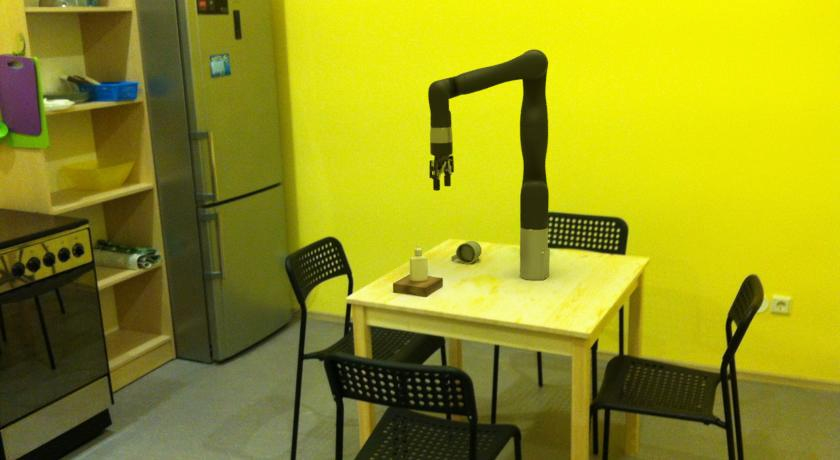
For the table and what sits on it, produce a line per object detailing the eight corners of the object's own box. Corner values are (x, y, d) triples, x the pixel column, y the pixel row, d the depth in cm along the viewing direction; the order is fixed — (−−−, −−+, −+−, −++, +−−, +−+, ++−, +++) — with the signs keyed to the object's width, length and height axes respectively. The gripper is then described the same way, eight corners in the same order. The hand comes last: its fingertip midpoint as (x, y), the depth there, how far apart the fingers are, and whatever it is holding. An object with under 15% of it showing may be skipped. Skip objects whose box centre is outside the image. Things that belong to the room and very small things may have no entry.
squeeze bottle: (425, 283, 260) (424, 246, 257) (408, 281, 262) (407, 245, 259) (429, 279, 264) (428, 243, 261) (412, 278, 266) (411, 242, 263)
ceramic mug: (483, 259, 298) (482, 239, 296) (475, 265, 291) (475, 244, 289) (456, 257, 302) (455, 237, 301) (448, 263, 295) (447, 242, 293)
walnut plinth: (442, 286, 266) (442, 277, 265) (426, 297, 256) (426, 287, 255) (410, 282, 271) (410, 273, 271) (393, 292, 261) (392, 283, 260)
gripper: (442, 143, 263) (443, 192, 267) (460, 138, 276) (460, 185, 279) (421, 142, 267) (422, 191, 270) (440, 137, 279) (441, 184, 283)
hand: (442, 188), depth 275 cm, fingers open, 8 cm apart
